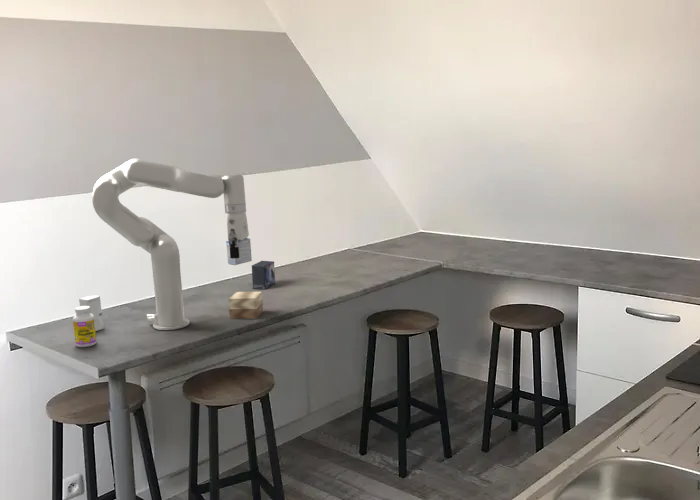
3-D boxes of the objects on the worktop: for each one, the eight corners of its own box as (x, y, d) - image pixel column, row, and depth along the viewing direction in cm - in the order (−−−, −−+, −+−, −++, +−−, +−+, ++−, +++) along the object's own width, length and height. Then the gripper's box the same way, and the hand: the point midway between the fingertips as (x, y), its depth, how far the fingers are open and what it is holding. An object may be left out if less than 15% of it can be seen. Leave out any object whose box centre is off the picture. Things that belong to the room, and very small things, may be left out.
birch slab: (229, 309, 262) (229, 298, 261) (237, 302, 272) (236, 291, 271) (256, 308, 261) (255, 298, 260) (262, 301, 270) (262, 291, 270)
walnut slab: (230, 319, 262) (229, 309, 262) (237, 312, 272) (236, 302, 271) (256, 319, 261) (255, 309, 260) (263, 312, 271) (262, 301, 270)
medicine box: (244, 260, 264) (242, 237, 262) (252, 261, 261) (250, 238, 259) (227, 264, 258) (225, 240, 256) (235, 265, 255) (233, 241, 254)
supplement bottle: (76, 349, 234) (72, 311, 231) (74, 343, 240) (70, 306, 237) (98, 345, 237) (93, 308, 234) (95, 340, 243) (91, 303, 240)
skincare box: (90, 333, 251) (87, 300, 249) (81, 331, 253) (78, 298, 251) (104, 328, 256) (100, 295, 254) (95, 327, 258) (91, 294, 256)
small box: (265, 289, 304) (264, 265, 302) (252, 289, 306) (250, 265, 304) (276, 284, 314) (274, 260, 312) (262, 283, 316) (261, 260, 314)
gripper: (237, 211, 247) (241, 260, 250) (252, 205, 264) (256, 250, 267) (217, 212, 248) (221, 260, 251) (233, 205, 265) (237, 250, 268)
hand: (239, 255), depth 259 cm, fingers closed on medicine box, 9 cm apart
